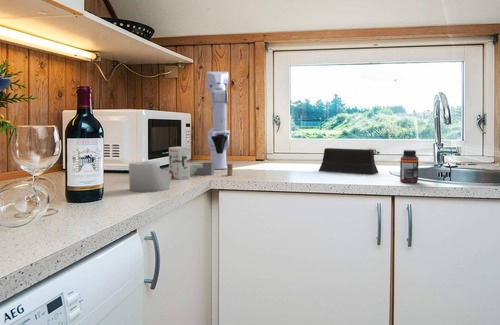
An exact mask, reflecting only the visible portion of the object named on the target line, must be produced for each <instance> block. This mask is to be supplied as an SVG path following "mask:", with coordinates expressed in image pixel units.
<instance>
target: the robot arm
mask: <svg viewBox="0 0 500 325" xmlns="http://www.w3.org/2000/svg"><path fill="white" fill-rule="evenodd" d="M229 79H230V78H229V72H228V71H209V70H207V71H206V89H207V91H208V92H209V93H211V94H210V100H211V109H212V110H211V111H212V112H211V114H212V116H211V117H212V118H211V120H212V123H211V124H212V127H211V128H210V129H209V130H208V131H207V148H209V149H210V154H209V156H210V157H209V158H210V162H214V170H227V150H228V148H229V147H230V134H231V130H228V127H227V125H228V124H227V115H228V114H227V113H228V112H227V105H228V102H229V101H228V99H229V98H228V96H229V93H228V89H229Z"/></svg>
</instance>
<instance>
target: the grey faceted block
mask: <svg viewBox="0 0 500 325" xmlns="http://www.w3.org/2000/svg"><path fill="white" fill-rule="evenodd" d="M202 163H203V167H199V168H197V173H196V175H197V176H213V175H215V169H214V162H211V161H204V162H202Z"/></svg>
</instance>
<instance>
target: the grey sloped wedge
mask: <svg viewBox="0 0 500 325" xmlns="http://www.w3.org/2000/svg"><path fill="white" fill-rule="evenodd" d="M171 176H172V174H170V173H169V172H168V171H166V170H164V169H163V168H161V167H160V162H159V161H133V162H129V163H128V177H129V178H128V179H129V191H130V192H132V193H149V192H151V193H152V192H163V191H170V186H171V180H172V178H171Z"/></svg>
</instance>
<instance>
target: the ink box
mask: <svg viewBox="0 0 500 325" xmlns="http://www.w3.org/2000/svg"><path fill="white" fill-rule="evenodd" d="M190 150H191V149H190V147H188V146H171V147H168V168H169V169H168V170H169V172H168V173H170V174H172V176H171V179H175V180H176V179H177V180H185V179H187V180H188V179H191V174H190V165H191V164H190V162H191V161H190V160H191V159H190V158H191V154H190Z"/></svg>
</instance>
